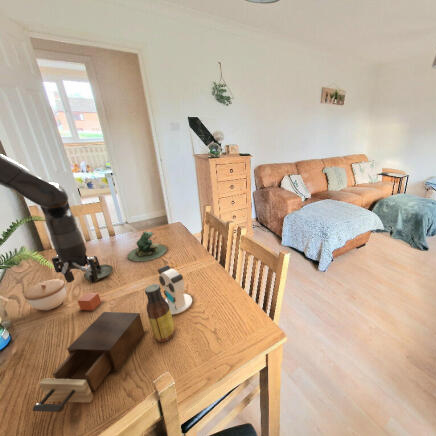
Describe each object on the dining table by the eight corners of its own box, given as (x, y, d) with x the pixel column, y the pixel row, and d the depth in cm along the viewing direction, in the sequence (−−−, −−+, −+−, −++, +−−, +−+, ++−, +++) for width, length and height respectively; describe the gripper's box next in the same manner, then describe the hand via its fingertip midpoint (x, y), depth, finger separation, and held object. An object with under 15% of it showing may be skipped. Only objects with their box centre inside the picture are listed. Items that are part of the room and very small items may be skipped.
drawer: (74, 423, 55) (65, 405, 53) (29, 422, 55) (18, 403, 53) (123, 357, 71) (117, 340, 69) (88, 355, 71) (81, 339, 69)
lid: (107, 269, 115) (102, 260, 113) (118, 270, 110) (114, 261, 109) (82, 282, 106) (77, 272, 105) (93, 283, 102) (88, 273, 100)
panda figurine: (154, 304, 93) (146, 272, 87) (181, 289, 101) (176, 259, 96) (169, 319, 86) (162, 285, 81) (197, 302, 95) (193, 270, 89)
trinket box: (55, 293, 96) (47, 273, 93) (77, 297, 94) (70, 278, 91) (23, 312, 87) (13, 291, 83) (46, 317, 85) (37, 296, 81)
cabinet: (117, 371, 68) (109, 350, 65) (76, 370, 68) (66, 348, 65) (144, 332, 81) (139, 312, 77) (110, 331, 80) (103, 311, 77)
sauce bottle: (177, 326, 83) (168, 280, 76) (172, 342, 78) (162, 293, 70) (157, 328, 82) (146, 281, 75) (150, 344, 76) (138, 294, 69)
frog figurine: (172, 252, 129) (169, 233, 125) (135, 265, 116) (130, 244, 112) (158, 241, 139) (155, 223, 135) (123, 252, 127) (118, 233, 122)
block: (80, 310, 89) (77, 300, 87) (90, 301, 93) (86, 292, 91) (92, 310, 89) (89, 301, 87) (101, 302, 93) (98, 293, 91)
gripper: (98, 238, 84) (109, 276, 90) (57, 236, 84) (72, 274, 90) (80, 248, 77) (94, 289, 83) (36, 247, 77) (53, 287, 83)
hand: (82, 281), depth 87 cm, fingers open, 8 cm apart
